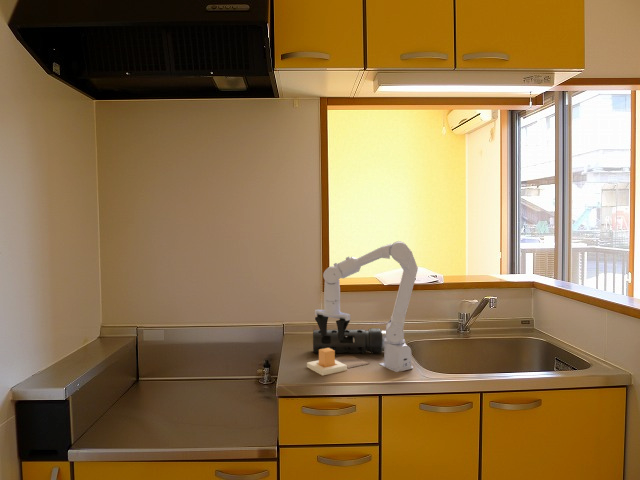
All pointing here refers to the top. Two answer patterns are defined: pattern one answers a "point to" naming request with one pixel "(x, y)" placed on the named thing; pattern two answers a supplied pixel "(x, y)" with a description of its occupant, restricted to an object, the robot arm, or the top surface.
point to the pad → (351, 361)
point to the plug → (326, 357)
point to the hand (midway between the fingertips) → (332, 337)
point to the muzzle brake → (350, 341)
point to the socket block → (327, 370)
